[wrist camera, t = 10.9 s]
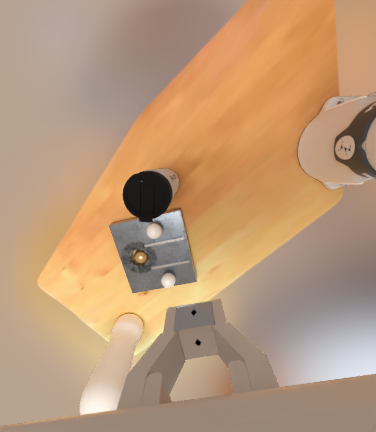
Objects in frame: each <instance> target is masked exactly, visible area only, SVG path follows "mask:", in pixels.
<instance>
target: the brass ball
mask: <svg viewBox="0 0 376 432" xmlns="http://www.w3.org/2000/svg"><path fill="white" fill-rule="evenodd" d="M134 258H135V261H136V262H138V263H145V262H146V261H147V260H148V255H147V253H146V252H145V251H143V250H140V249H139V250H138V251H136V253H135V255H134Z"/></svg>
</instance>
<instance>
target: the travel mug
mask: <svg viewBox="0 0 376 432" xmlns="http://www.w3.org/2000/svg"><path fill="white" fill-rule="evenodd" d="M178 187H179V178H178V176H177V174H176V173H175V172H174V171H172V170H171V169H167V168H163V169H155V170H147V171H143V172H140V173H137V174H134V175H133V176H131V177H130V178H129V179H128V180H127V182H126V184H125V186H124V189H123V200H124V204H125V206H126V208H127V209H128V210H129V212H130V213H132V214H133V215H134V216H136V217H138V218H139V221H140V222H148V223H150V222H153V220H152V219H155V218H157V217H159V216H161V215H162V214H163V213H164V212H165V211H166V210H167V208H168V206H169V205H170V203H171V201H172V199H173V197H174V195H175V193H176V191H177V189H178Z"/></svg>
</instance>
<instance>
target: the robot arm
mask: <svg viewBox="0 0 376 432" xmlns="http://www.w3.org/2000/svg"><path fill="white" fill-rule="evenodd" d="M337 103H339V104H338V105H337ZM298 158H299V162H300V165H301V167H302V168H303V170H304V171H305V172H306V173H307V174H308V175H309V176H311V177H313V178H315V179H317V180H319V181H321V182H322V184H323V185H324V186H325V187H326V188H327V189H337V188H339V187H342V186H344V185H347V184H353V185H360V184H363V183H364V182H367V181H369V180H371V179H376V92H374V93H371V94H369V95H368V96H366V95H364V96H344V97H343V96H342V97H332V98H329V99H328V100H327V101H326V102H325V104H324V105H323V107H322V109H321V111H320V113H319V114H318V115H317V116H316V117H315V118H314V119H313V120H312V121H311V122H310V123H309V124H308V126H307V127H306V128H305V130H304V132H303V134H302V136H301V138H300V141H299V146H298ZM211 355H219V356H220V358H221V359H222V360H223V362H224V363H225V364H226V366H227V367H228V368H229V373H230V380H231V385H232V391H233V394H228V395H220V396H213V397H207V398H199V399H192V400H184V401H177V402H172V401H171V399H170V396H169V394H170V392H171V390H172V388H173V386H174V384H175V382H176V379H177V377H178V375H179V373H180V371H181V369H182V367H183V365H184V363H185V360H187V359H192V358H197V357H204V356H211ZM0 432H376V374H372V375H364V376H357V377H350V378H343V379H336V380H328V381H321V382H314V383H307V384H300V385H292V386H285V387H279V385H278V383H277V380H276V378H275V375H274V373H273V370H272V368H271V365H270V363H269V361H268V358H267V355H266V354H264V353H263V352H262V351H261V350H260V349H259V348H258V347H256V346H255V345H254V344H253V343H252V342H251V341H249V340H248V339H247V338H246V337H245V336H244V335H243V334H242V333H241V332H239V331H238V330H237V329H236V328H235V327H234V326H233V325H231V324H230V323H226V319H225V315H224V311H223V306H222V302H221V299H216V300H212V301H206V302H201V303H195V304H189V305H182V306H177V307H170V308H168V309H167V312H166V318H165V325H164V331H163V333H162V334H160V335H159V336H158V337H157V339H156V340H155V341H154V342H153V344H152V345H151V346H150V348H149V349H148V350H147V351H146V353H145V354H144V355H143V356H142V357H141V359H140V360H139V361H138V363H137V364H136V365H135V366H134V367H133V369H132V370H131V371H130V372H129V374H128V375H127V376H126V380H125V383H124V386H123V390H122V393H121V396H120V399H119V403H118V406H117V409H116V410H112V411H105V412H97V413H90V414H83V415H76V416H69V417H61V418H54V419H47V420H40V421H32V422H25V423H18V424H11V425H4V426H0Z"/></svg>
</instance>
